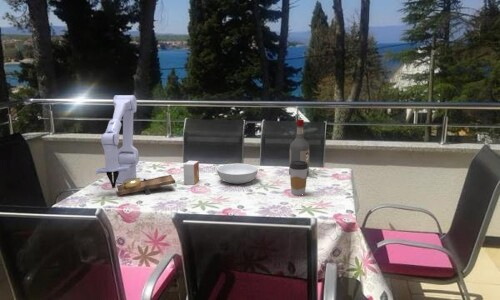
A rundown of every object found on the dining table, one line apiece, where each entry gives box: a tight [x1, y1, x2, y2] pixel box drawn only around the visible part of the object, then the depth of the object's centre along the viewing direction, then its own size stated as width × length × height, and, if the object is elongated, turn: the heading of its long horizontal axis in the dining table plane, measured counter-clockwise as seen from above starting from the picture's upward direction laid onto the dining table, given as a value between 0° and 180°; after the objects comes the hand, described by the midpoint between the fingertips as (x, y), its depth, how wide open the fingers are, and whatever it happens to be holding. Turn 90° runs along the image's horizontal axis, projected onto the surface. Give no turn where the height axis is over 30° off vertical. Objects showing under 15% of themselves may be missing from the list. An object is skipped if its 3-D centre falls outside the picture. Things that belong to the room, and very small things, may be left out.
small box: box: [183, 160, 200, 186], centre depth 217 cm, size 8×6×10 cm
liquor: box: [288, 119, 310, 175], centre depth 229 cm, size 9×9×30 cm
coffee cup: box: [289, 161, 308, 196], centre depth 199 cm, size 8×8×15 cm
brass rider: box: [122, 177, 141, 190], centre depth 202 cm, size 8×8×3 cm
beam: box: [116, 174, 176, 196], centre depth 204 cm, size 26×10×2 cm, turn 110°
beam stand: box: [143, 178, 151, 196], centre depth 204 cm, size 2×12×4 cm, turn 20°
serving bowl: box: [216, 162, 259, 185], centre depth 220 cm, size 21×21×7 cm
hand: (113, 187), depth 199 cm, fingers closed
